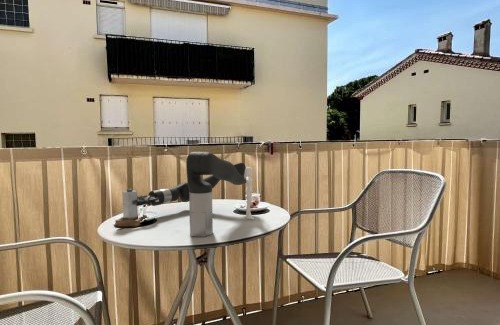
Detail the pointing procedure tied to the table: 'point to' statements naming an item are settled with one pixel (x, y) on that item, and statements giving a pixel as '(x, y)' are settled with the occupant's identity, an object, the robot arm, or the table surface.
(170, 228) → the table surface
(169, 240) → the table surface
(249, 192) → the character figure
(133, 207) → the grey rectangular block
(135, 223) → the tray
